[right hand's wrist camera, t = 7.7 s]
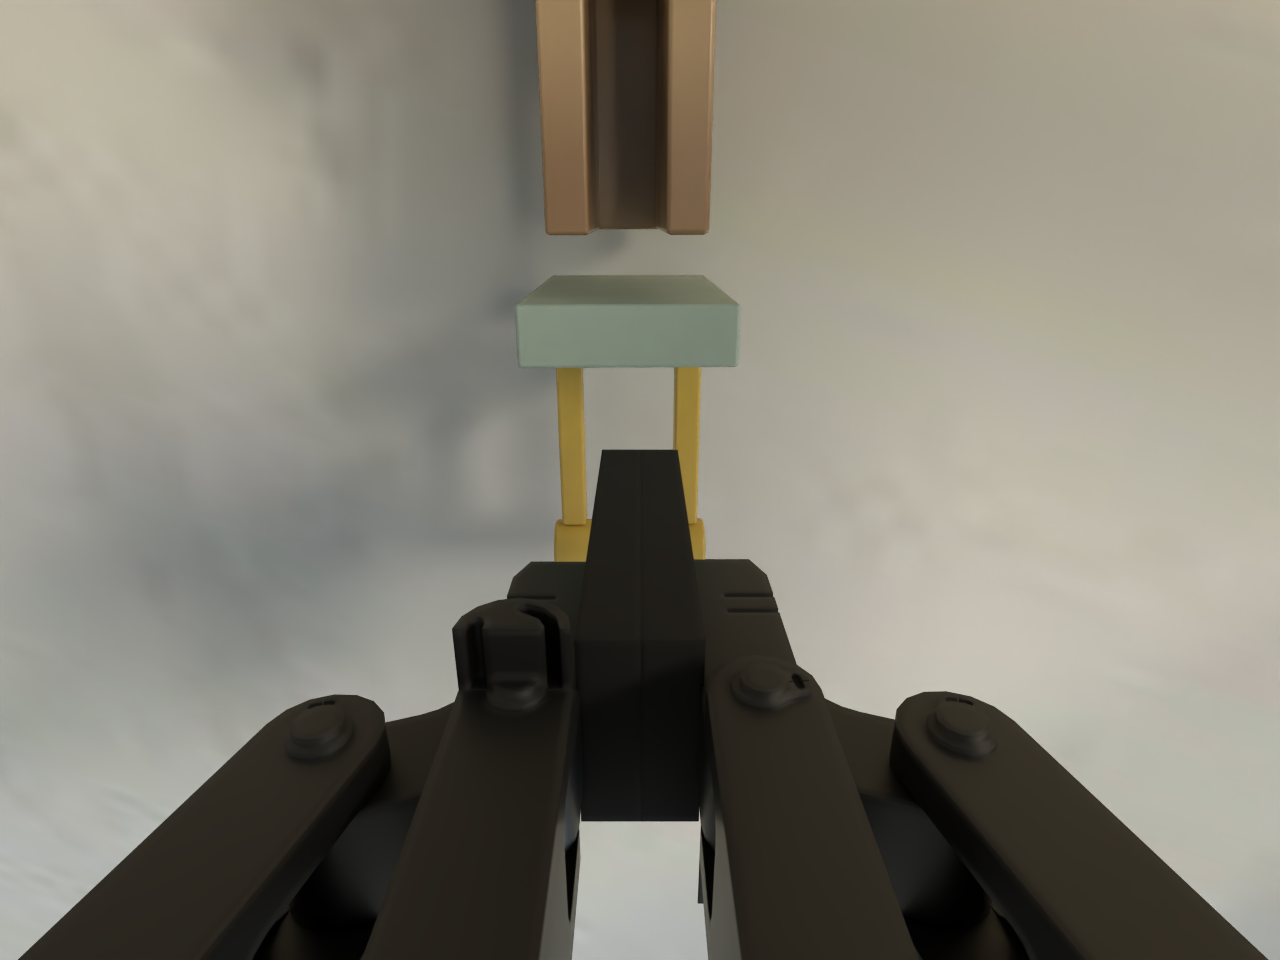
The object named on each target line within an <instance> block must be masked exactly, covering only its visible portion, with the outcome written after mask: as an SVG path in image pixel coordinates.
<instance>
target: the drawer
mask: <svg viewBox="0 0 1280 960" xmlns="http://www.w3.org/2000/svg"><path fill="white" fill-rule="evenodd" d="M535 3H536V26H537V49H538V71H539V94H540V117H541V140H542V163H543V186H544V208H545V231H546V233H547V234H548V235H587V234H589V233H591V232H593V231H595V230H597V229H660V230H662V231H664V232H666V233H668V234H670V235H704V234H706V233H708V230H709V217H710V183H711V149H712V115H713V82H714V48H715V14H716V0H535ZM740 313H741V307H740V305H739V304H738V303H737V302H736V301H735V300H733V299H732V298H731V297H730V296H728V295H727V294H726V293H725V292H723V291H722V290H721V289H720V288H718V287H717V286H716V285H715V284H713V283H712V282H711V281H710V280H708V279H707V278H706V277H705V276H703V275H602V276H552V277H551V278H549V279H548V280H547V281H546V282H544V283H543V284H542V285H541V286H539V287H538V288H537V289H536V290H534V291H533V292H532V293H531V294H529V295H528V296H527V297H526V298H524V299H523V300H522V301H521V302H519V303H518V304H517V305H516V307H515V319H516V336H517V353H518V365H519V367H522V368H556V379H557V403H558V427H559V451H560V475H561V499H562V519H559V520H557V522H556V525H555V534H554V559H555V562H586V557H587V550H588V543H589V536H590V529H591V523H592V519H587V492H586V457H585V423H584V388H583V368H594V367H674V418H673V450H678V455H679V461H680V468H681V475H682V482H683V489H684V495H685V502H686V509H687V516H688V523H689V529H690V536H691V543H692V550H693V557H694V559H705V530H704V523H703V520H702V519H700V518H697V492H698V456H699V420H700V384H701V367H735V366H737V364H738V357H739V335H740Z"/></svg>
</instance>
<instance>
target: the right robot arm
mask: <svg viewBox="0 0 1280 960" xmlns="http://www.w3.org/2000/svg"><path fill="white" fill-rule="evenodd" d="M452 633H453V642H454V651H455V660H456V669H457V678H458V687H459V691H458V694H457V697H456V699H455V702H453V703H451V704H449V705H447V706H445V707H443V708H441V709H438V710H435V711H432V712H429V713H425V714H422V715H418V716H413V717H409V718H404V719H400V720H395V721H391V722H386V723H385V717H384V712H383V711H382V710H381V709H380V708H379V707H378V705H377V704H376V703H375V702H374V701H371V700H369V699H366V698H363V697H360V696H358V695H330V696H325V697H320V698H316V699H311V700H308V701H306V702H304V703H301V704H299V705H297V706H294V707H292V708H290V709H287V710H286V711H284V712H283V713H281V714H280V715H279V716H277V717H276V718H275V719H273V720H272V721H270V722H269V723H268V724H266V725H265V726H264V727H263V728H262V729H261V730H260V731H259V732H258V733H257V734H256V735H255V736H254V737H253V738H252V739H251V740H249V741H248V742H247V743H246V744H245V745H244V746H243V747H242V748H241V749H240V750H239V751H238V752H237V753H236V754H235V755H234V756H233V757H232V758H230V759H229V760H228V761H227V762H226V763H225V764H224V765H223V766H222V767H221V768H220V769H219V770H218V771H217V772H216V773H215V774H214V775H212V776H211V777H210V778H209V779H208V780H207V781H206V782H205V783H204V784H203V785H202V786H201V787H200V788H199V789H198V790H197V791H196V792H195V793H193V794H192V795H191V796H190V797H189V798H188V799H187V800H186V801H185V802H184V803H183V804H182V805H181V806H180V807H179V808H178V809H177V810H176V811H174V812H173V813H172V814H171V815H170V816H169V817H168V818H167V819H166V820H165V821H164V822H163V823H162V824H161V825H160V826H159V827H158V828H157V829H155V830H154V831H153V832H152V833H151V834H150V835H149V836H148V837H147V838H146V839H145V840H144V841H143V842H142V843H141V844H140V845H139V846H137V847H136V848H135V849H134V850H133V851H132V852H131V853H130V854H129V855H128V856H127V857H126V858H125V859H124V860H123V861H122V862H121V863H120V864H118V865H117V866H116V867H115V868H114V869H113V870H112V871H111V872H110V873H109V874H108V875H107V876H106V877H105V878H104V879H103V880H102V881H101V882H99V883H98V884H97V885H96V886H95V887H94V888H93V889H92V890H91V891H90V892H89V893H88V894H87V895H86V896H85V897H84V898H83V899H82V900H80V901H79V902H78V903H77V904H76V905H75V906H74V907H73V908H72V909H71V910H70V911H69V912H68V913H67V914H66V915H65V916H64V917H63V918H61V919H60V920H59V921H58V922H57V923H56V924H55V925H54V926H53V927H52V928H51V929H50V930H49V931H48V932H47V933H46V934H45V935H43V936H42V937H41V938H40V939H39V940H38V941H37V942H36V943H35V944H34V945H33V946H32V947H31V948H30V949H29V950H28V951H27V952H26V953H24V954H23V955H22V956H21V957H20V958H19V959H18V960H572V950H573V938H574V926H575V915H576V903H577V892H578V880H579V868H580V837H579V823H580V812H581V821H699V809H700V819H701V837H700V862H699V886H698V903H704V914H705V925H706V937H707V948H708V960H1268V959H1267V958H1266V957H1265V956H1264V955H1263V954H1262V953H1261V952H1259V951H1258V950H1257V949H1256V948H1255V947H1254V946H1253V945H1252V944H1251V943H1250V942H1249V941H1248V940H1247V939H1246V938H1245V937H1244V936H1242V935H1241V934H1240V933H1239V932H1238V931H1237V930H1236V929H1235V928H1234V927H1233V926H1232V925H1231V924H1230V923H1229V922H1228V921H1227V920H1225V919H1224V918H1223V917H1222V916H1221V915H1220V914H1219V913H1218V912H1217V911H1216V910H1215V909H1214V908H1213V907H1212V906H1211V905H1209V904H1208V903H1207V902H1206V901H1205V900H1204V899H1203V898H1202V897H1201V896H1200V895H1199V894H1198V893H1197V892H1196V891H1195V890H1194V889H1192V888H1191V887H1190V886H1189V885H1188V884H1187V883H1186V882H1185V881H1184V880H1183V879H1182V878H1181V877H1180V876H1179V875H1178V874H1176V873H1175V872H1174V871H1173V870H1172V869H1171V868H1170V867H1169V866H1168V865H1167V864H1166V863H1165V862H1164V861H1163V860H1162V859H1161V858H1159V857H1158V856H1157V855H1156V854H1155V853H1154V852H1153V851H1152V850H1151V849H1150V848H1149V847H1148V846H1147V845H1146V844H1145V843H1143V842H1142V841H1141V840H1140V839H1139V838H1138V837H1137V836H1136V835H1135V834H1134V833H1133V832H1132V831H1131V830H1130V829H1129V828H1128V827H1126V826H1125V825H1124V824H1123V823H1122V822H1121V821H1120V820H1119V819H1118V818H1117V817H1116V816H1115V815H1114V814H1113V813H1112V812H1110V811H1109V810H1108V809H1107V808H1106V807H1105V806H1104V805H1103V804H1102V803H1101V802H1100V801H1099V800H1098V799H1097V798H1096V797H1095V796H1093V795H1092V794H1091V793H1090V792H1089V791H1088V790H1087V789H1086V788H1085V787H1084V786H1083V785H1082V784H1081V783H1080V782H1079V781H1078V780H1076V779H1075V778H1074V777H1073V776H1072V775H1071V774H1070V773H1069V772H1068V771H1067V770H1066V769H1065V768H1064V767H1063V766H1062V765H1060V764H1059V763H1058V762H1057V761H1056V760H1055V759H1054V758H1053V757H1052V756H1051V755H1050V754H1049V753H1048V752H1047V751H1046V750H1045V749H1043V748H1042V747H1041V746H1040V745H1039V744H1038V743H1037V742H1036V741H1035V740H1034V739H1033V738H1032V737H1031V736H1030V735H1029V734H1027V733H1026V732H1025V731H1024V730H1023V729H1022V728H1021V727H1020V726H1019V725H1018V724H1017V723H1016V722H1015V721H1014V720H1012V719H1011V718H1009V717H1008V716H1007V715H1005V714H1004V713H1002V712H1001V711H1000V710H998V709H997V708H995V707H994V706H992V705H989V704H987V703H985V702H982V701H980V700H978V699H975V698H973V697H971V696H966V695H961V694H956V693H951V692H946V691H944V692H923V693H920V694H917V695H914V696H911V697H909V698H906V699H905V701H904V702H903V703H902V704H901V705H900V706H899V707H898V708H897V711H896V717H895V720H894V719H890V718H885V717H880V716H876V715H871V714H867V713H862V712H858V711H855V710H852V709H848V708H845V707H842V706H840V705H837V704H835V703H833V702H831V701H829V700H827V699H825V698H824V695H823V693H822V690H821V688H820V687H819V685H818V684H817V682H816V681H815V679H814V678H813V676H812V675H811V674H809V673H808V672H806V671H805V670H803V669H802V668H801V667H799V666H798V665H797V664H796V661H795V658H794V655H793V652H792V649H791V646H790V643H789V640H788V637H787V634H786V631H785V628H784V625H783V622H782V619H781V616H780V613H778V607H777V604H776V601H775V598H774V597H773V592H772V589H771V586H770V583H769V580H768V577H767V575H766V574H765V573H764V572H763V571H762V570H760V569H759V568H758V567H757V566H756V565H755V564H754V563H752V562H751V561H750V560H749V559H694V557H693V550H692V543H691V536H690V529H689V523H688V516H687V509H686V502H685V495H684V489H683V482H682V475H681V468H680V461H679V455H678V450H602V455H601V461H600V468H599V475H598V482H597V489H596V495H595V502H594V509H593V516H592V523H591V529H590V536H589V543H588V550H587V557H586V562H530V563H529V564H528V565H527V566H526V567H525V568H523V569H522V570H521V571H520V572H519V573H518V574H517V575H516V576H514V577H513V580H512V583H511V586H510V589H509V592H508V595H507V599H504V600H497V601H494V602H491V603H488V604H484V605H481V606H478V607H476V608H475V609H473V610H471V611H470V612H468V613H467V614H465V615H463V616H462V617H461V618H460V619H459V621H458V622H457V623H456V624H455V626H454V627H453V628H452Z"/></svg>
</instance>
